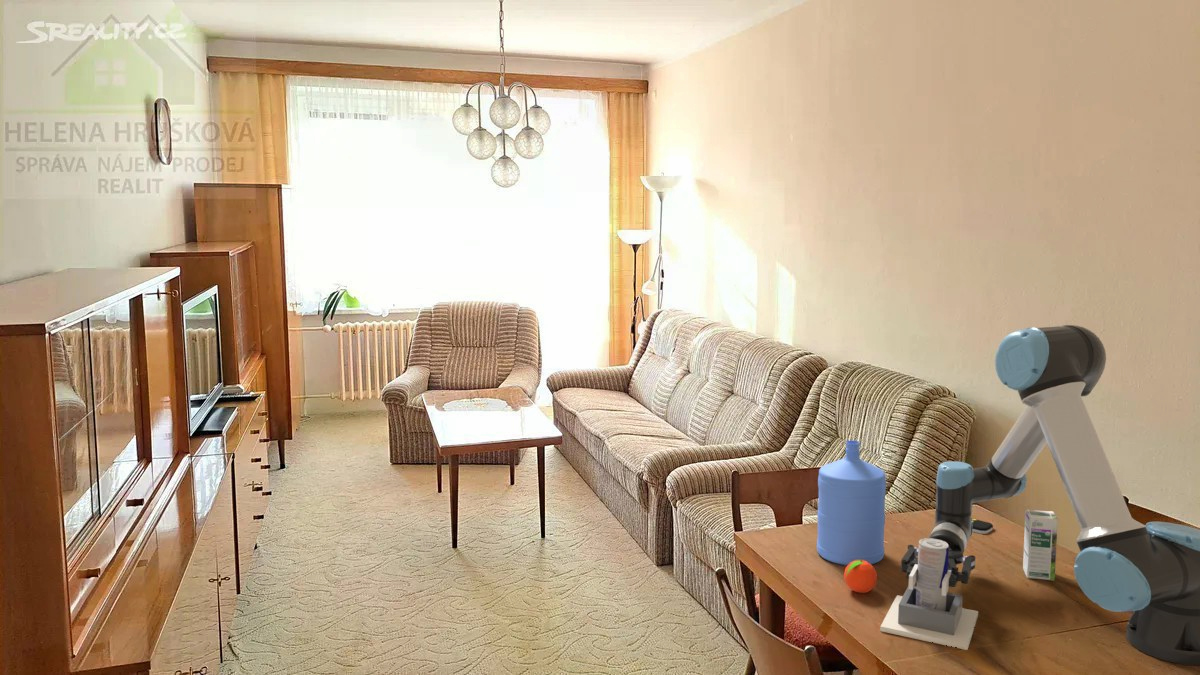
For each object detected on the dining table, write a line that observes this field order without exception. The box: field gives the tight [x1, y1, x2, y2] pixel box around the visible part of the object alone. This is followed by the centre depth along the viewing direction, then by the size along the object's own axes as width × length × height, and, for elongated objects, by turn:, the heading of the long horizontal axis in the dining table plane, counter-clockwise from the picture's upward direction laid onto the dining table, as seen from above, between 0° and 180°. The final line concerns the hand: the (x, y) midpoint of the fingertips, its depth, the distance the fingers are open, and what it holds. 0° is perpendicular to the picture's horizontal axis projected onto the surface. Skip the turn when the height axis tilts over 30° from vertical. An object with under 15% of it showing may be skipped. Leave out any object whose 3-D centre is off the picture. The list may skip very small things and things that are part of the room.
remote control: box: [971, 517, 994, 535], centre depth 227 cm, size 6×13×2 cm, turn 44°
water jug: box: [816, 440, 887, 566], centre depth 207 cm, size 16×16×28 cm
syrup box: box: [1022, 509, 1059, 582], centre depth 194 cm, size 6×6×14 cm
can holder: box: [879, 584, 979, 651], centre depth 173 cm, size 16×16×5 cm
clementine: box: [843, 560, 878, 594], centre depth 187 cm, size 8×7×7 cm
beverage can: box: [916, 537, 949, 611], centre depth 172 cm, size 6×6×15 cm
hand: (927, 585), depth 167 cm, fingers closed on beverage can, 5 cm apart
